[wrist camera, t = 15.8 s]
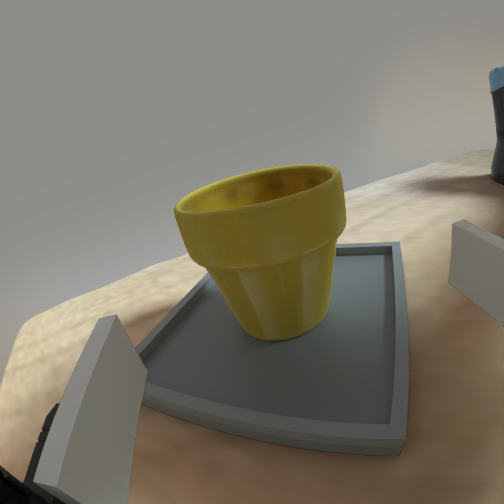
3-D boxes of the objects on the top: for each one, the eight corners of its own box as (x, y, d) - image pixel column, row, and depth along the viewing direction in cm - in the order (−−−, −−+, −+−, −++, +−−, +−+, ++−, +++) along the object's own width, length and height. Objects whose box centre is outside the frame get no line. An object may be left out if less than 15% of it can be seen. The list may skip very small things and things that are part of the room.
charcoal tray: (234, 263, 34) (231, 248, 33) (399, 258, 26) (399, 241, 26) (119, 394, 18) (107, 377, 17) (398, 455, 10) (405, 439, 9)
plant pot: (266, 390, 15) (217, 223, 11) (194, 317, 24) (154, 202, 20) (382, 303, 20) (374, 164, 16) (292, 266, 28) (272, 163, 24)
